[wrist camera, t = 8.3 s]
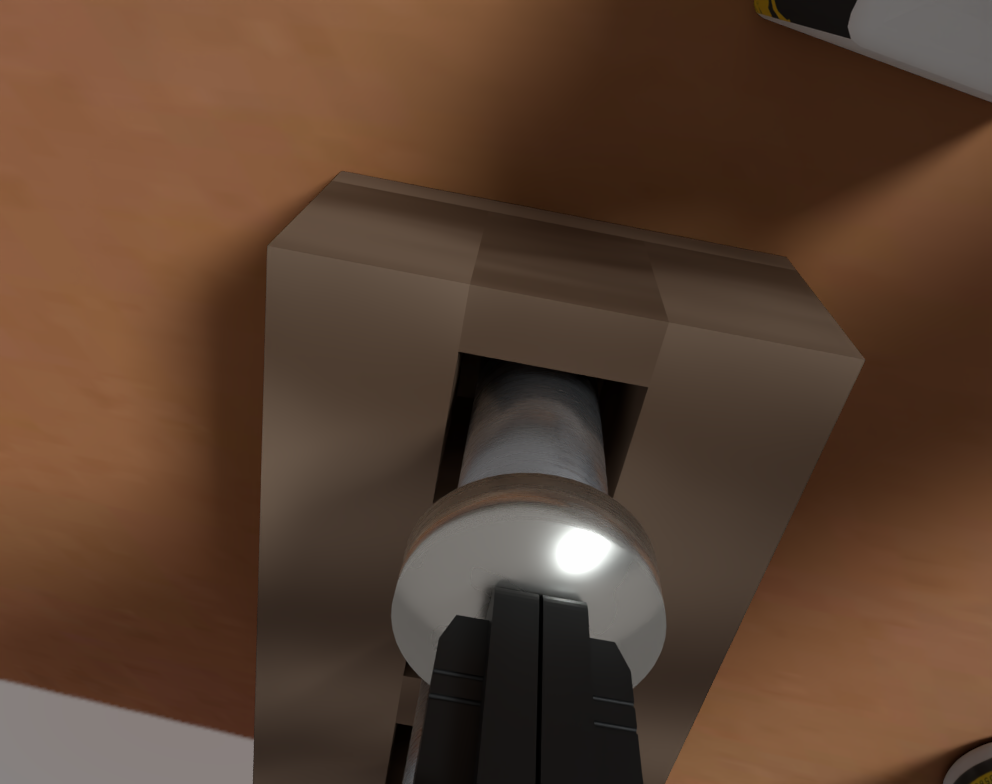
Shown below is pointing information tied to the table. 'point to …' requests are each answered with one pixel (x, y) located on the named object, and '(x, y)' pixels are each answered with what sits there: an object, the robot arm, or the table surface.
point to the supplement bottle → (972, 767)
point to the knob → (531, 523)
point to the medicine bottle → (902, 34)
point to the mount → (445, 422)
